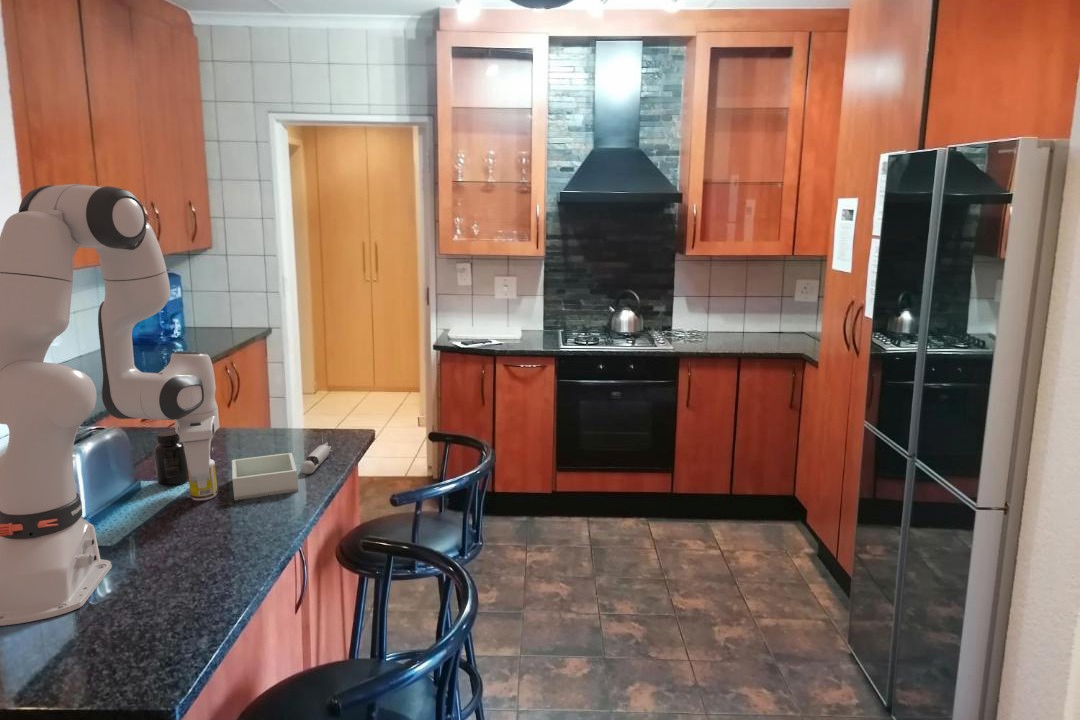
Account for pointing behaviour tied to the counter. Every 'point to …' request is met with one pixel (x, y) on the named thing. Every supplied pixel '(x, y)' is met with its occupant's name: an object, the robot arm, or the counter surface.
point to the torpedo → (315, 458)
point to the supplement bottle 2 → (210, 489)
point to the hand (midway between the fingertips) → (202, 481)
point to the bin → (264, 476)
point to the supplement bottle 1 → (170, 459)
